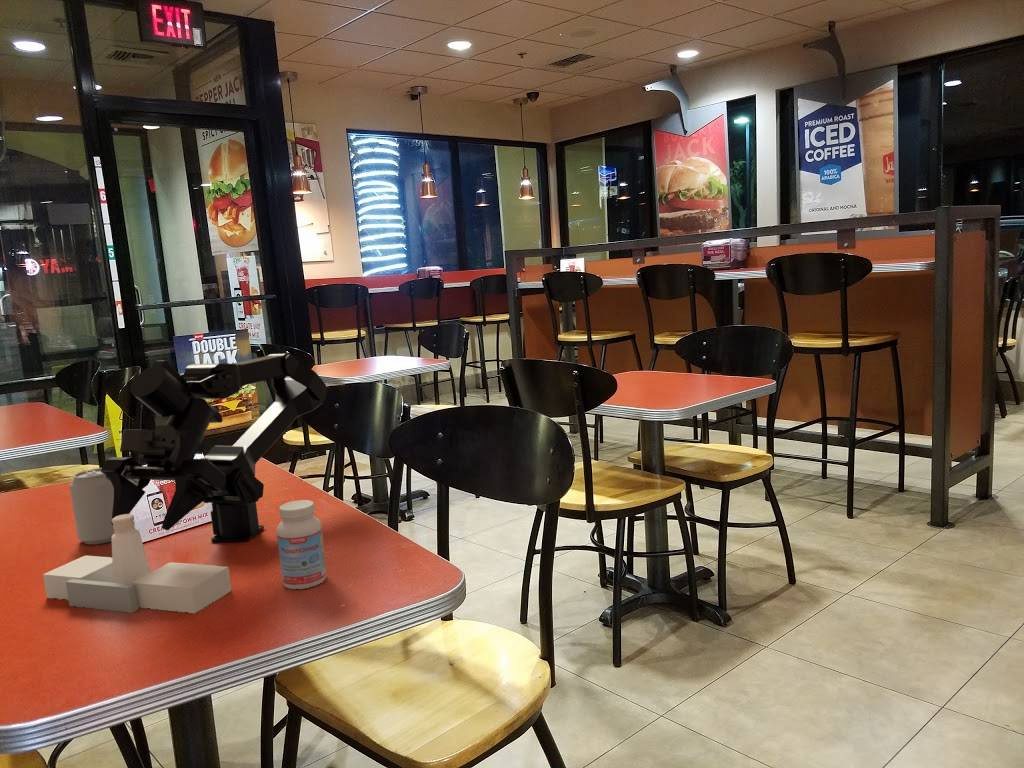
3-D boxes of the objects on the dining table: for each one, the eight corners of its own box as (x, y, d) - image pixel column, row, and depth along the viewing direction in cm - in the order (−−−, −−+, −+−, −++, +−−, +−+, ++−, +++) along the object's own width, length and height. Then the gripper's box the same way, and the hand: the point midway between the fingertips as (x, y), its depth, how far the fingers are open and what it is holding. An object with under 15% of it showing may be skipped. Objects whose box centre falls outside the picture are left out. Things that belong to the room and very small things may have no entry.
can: (91, 549, 126) (79, 479, 124) (71, 541, 131) (59, 474, 129) (135, 534, 132) (125, 468, 130) (115, 528, 137) (105, 463, 135)
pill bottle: (282, 594, 103) (272, 514, 101) (283, 577, 108) (274, 501, 107) (328, 586, 104) (319, 508, 102) (326, 570, 110) (318, 495, 108)
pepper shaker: (122, 602, 103) (109, 525, 102) (106, 593, 107) (94, 518, 105) (161, 588, 107) (150, 514, 106) (145, 580, 111) (134, 507, 109)
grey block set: (231, 590, 105) (228, 566, 104) (186, 618, 97) (183, 593, 96) (88, 577, 113) (85, 555, 113) (37, 602, 106) (33, 578, 105)
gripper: (100, 405, 113) (47, 500, 105) (201, 404, 107) (154, 505, 99) (148, 442, 122) (104, 533, 114) (244, 444, 116) (205, 539, 107)
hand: (139, 527), depth 108 cm, fingers open, 9 cm apart
